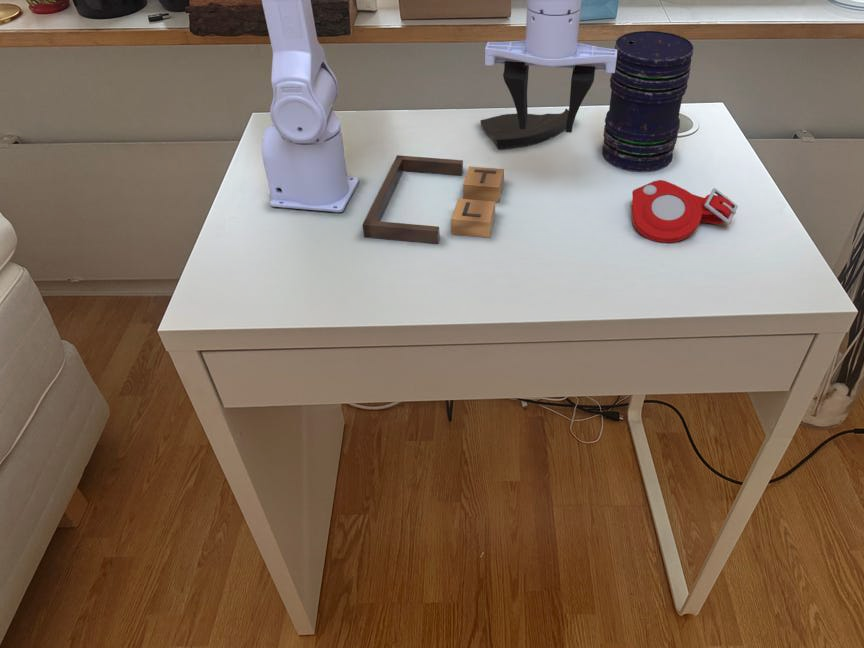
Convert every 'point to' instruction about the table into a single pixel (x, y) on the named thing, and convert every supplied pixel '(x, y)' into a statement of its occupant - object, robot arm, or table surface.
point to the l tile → (473, 218)
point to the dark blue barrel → (646, 100)
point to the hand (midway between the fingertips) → (546, 127)
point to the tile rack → (400, 164)
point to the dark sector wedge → (536, 131)
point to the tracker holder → (676, 211)
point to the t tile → (483, 184)
